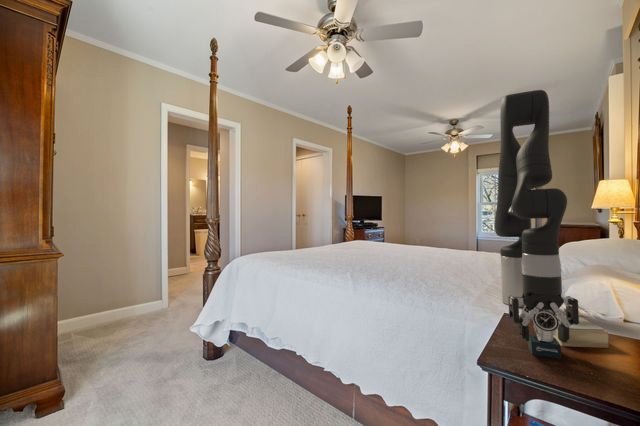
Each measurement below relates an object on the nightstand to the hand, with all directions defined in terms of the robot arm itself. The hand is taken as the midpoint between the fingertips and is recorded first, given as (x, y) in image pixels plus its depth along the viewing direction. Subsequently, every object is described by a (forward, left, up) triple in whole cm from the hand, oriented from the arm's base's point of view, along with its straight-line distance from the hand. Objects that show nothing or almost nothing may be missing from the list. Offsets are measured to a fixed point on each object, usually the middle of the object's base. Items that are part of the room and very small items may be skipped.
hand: (543, 340), depth 69 cm
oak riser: (-9, +11, -3) cm, 15 cm away
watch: (0, 0, -3) cm, 3 cm away
